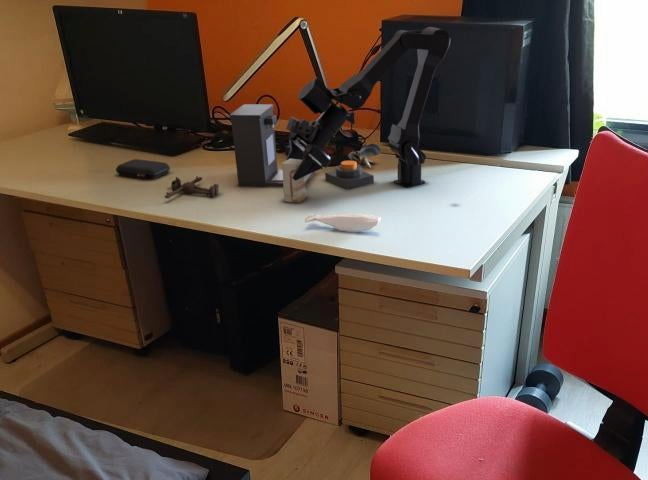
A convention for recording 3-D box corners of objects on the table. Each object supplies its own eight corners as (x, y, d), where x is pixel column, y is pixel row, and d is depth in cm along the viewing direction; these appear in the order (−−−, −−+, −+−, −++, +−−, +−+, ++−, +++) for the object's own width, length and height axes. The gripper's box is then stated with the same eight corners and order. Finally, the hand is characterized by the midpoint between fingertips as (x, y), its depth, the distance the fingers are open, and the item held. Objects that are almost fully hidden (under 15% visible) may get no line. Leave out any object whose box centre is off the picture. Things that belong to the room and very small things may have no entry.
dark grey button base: (373, 183, 200) (373, 168, 197) (347, 189, 195) (347, 175, 193) (351, 174, 207) (350, 160, 205) (325, 180, 203) (324, 166, 201)
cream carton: (298, 203, 187) (296, 164, 181) (283, 201, 188) (280, 163, 183) (307, 197, 191) (304, 159, 185) (292, 195, 192) (289, 157, 187)
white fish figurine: (376, 237, 165) (375, 220, 163) (304, 230, 170) (302, 213, 168) (383, 229, 169) (383, 212, 167) (312, 222, 174) (311, 206, 172)
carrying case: (111, 176, 212) (150, 182, 206) (109, 166, 210) (148, 171, 204) (135, 167, 220) (173, 172, 214) (133, 157, 218) (172, 161, 212)
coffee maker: (314, 173, 209) (310, 104, 198) (304, 188, 197) (299, 115, 187) (251, 172, 212) (244, 104, 201) (237, 186, 200) (229, 115, 190)
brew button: (360, 169, 199) (359, 162, 198) (347, 172, 197) (346, 165, 196) (350, 165, 202) (350, 159, 201) (338, 168, 200) (337, 162, 199)
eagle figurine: (372, 168, 207) (386, 155, 213) (358, 147, 205) (373, 134, 211) (355, 179, 213) (369, 166, 218) (341, 158, 211) (356, 145, 216)
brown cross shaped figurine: (197, 195, 185) (149, 184, 189) (198, 210, 187) (151, 200, 191) (231, 175, 199) (186, 166, 203) (232, 190, 201) (187, 181, 205)
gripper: (294, 98, 185) (256, 146, 188) (316, 112, 170) (275, 164, 173) (324, 126, 192) (287, 172, 195) (348, 142, 177) (307, 192, 180)
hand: (288, 174), depth 185 cm, fingers open, 9 cm apart
